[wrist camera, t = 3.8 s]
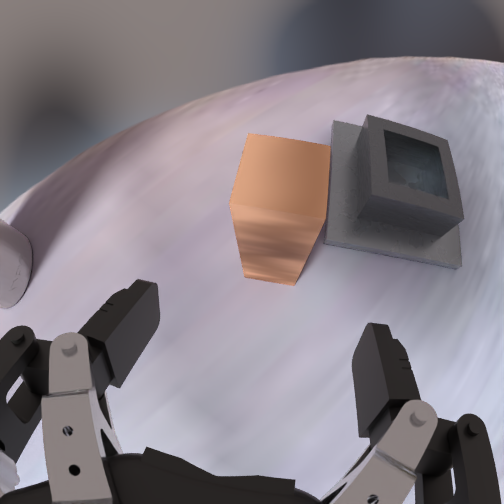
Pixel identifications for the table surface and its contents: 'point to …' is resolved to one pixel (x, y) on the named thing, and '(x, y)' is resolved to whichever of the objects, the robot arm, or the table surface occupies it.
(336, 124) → the socket plate
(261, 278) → the terracotta peg
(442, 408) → the table surface
